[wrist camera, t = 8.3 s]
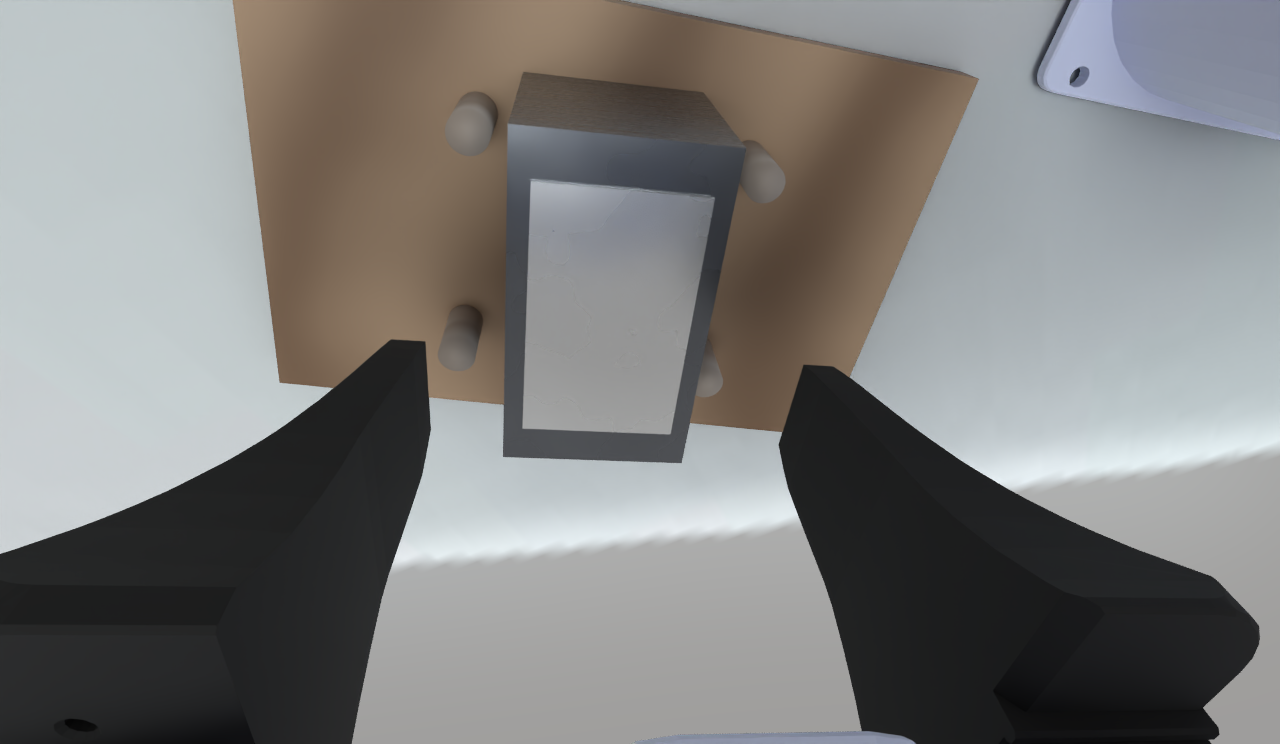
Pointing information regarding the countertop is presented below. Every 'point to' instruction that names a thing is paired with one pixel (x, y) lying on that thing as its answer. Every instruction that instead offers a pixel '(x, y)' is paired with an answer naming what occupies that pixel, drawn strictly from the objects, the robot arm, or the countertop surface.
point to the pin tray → (477, 180)
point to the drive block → (611, 264)
